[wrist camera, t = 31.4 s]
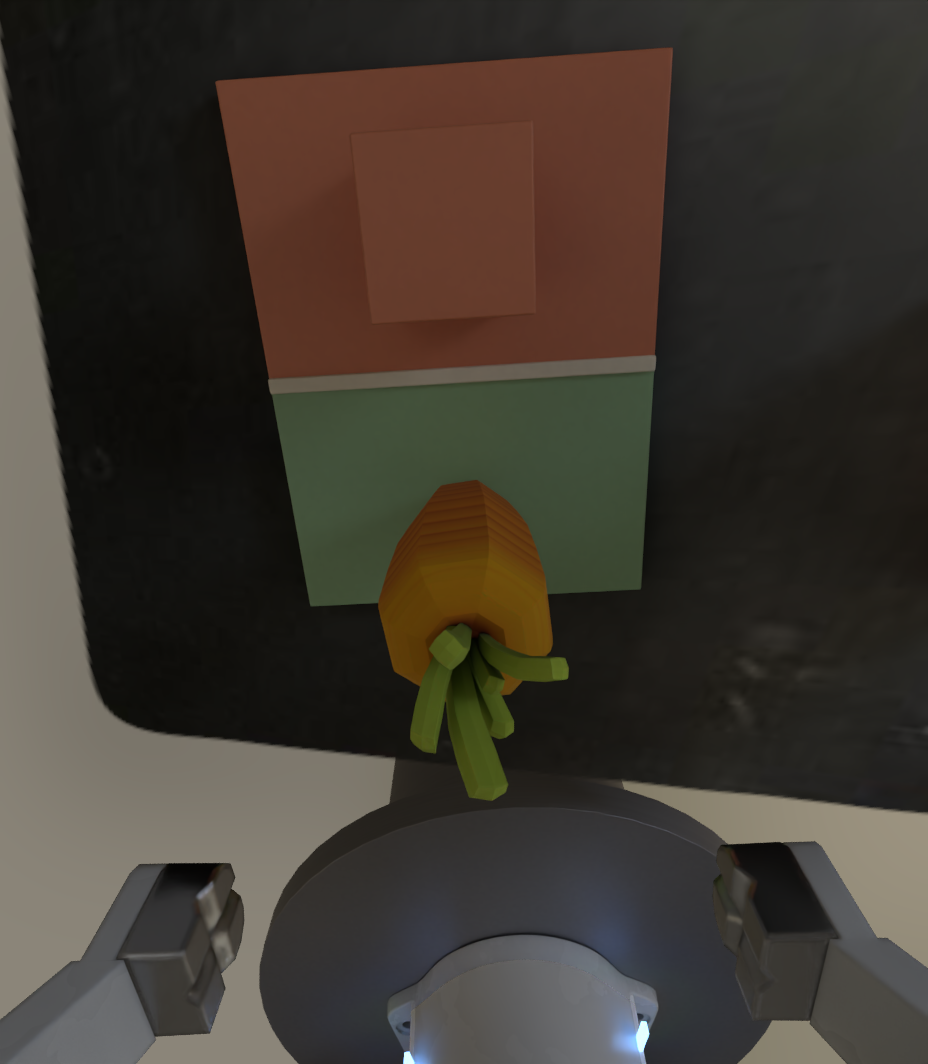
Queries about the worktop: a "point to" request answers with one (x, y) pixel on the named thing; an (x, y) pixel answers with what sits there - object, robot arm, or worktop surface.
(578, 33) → the worktop surface
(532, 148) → the terracotta block
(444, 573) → the carrot
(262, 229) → the mat
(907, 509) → the worktop surface
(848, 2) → the worktop surface
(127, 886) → the robot arm
